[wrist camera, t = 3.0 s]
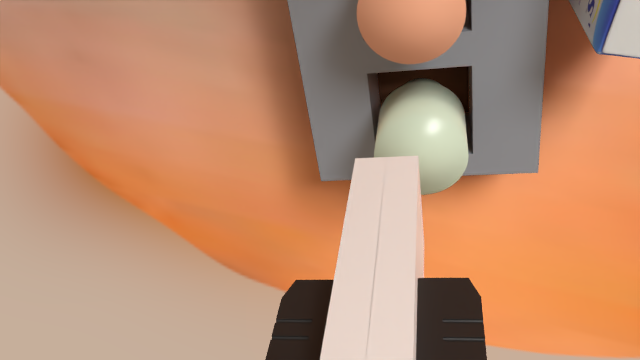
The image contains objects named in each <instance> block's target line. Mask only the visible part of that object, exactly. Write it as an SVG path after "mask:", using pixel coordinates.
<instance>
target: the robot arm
mask: <svg viewBox="0 0 640 360" xmlns="http://www.w3.org/2000/svg"><path fill="white" fill-rule="evenodd" d="M266 360H487V356H486V346H485V335H484V324H483V314H482V303H481V296H480V295H479V293H478V292H477V290H476V289H475V287H474V286H473V284H472V283H471V281H470V280H469V278H424V233H423V218H422V203H421V188H420V173H419V158H418V156H398V157H376V158H355V163H354V168H353V174H352V180H351V185H350V191H349V197H348V202H347V208H346V214H345V219H344V225H343V231H342V236H341V242H340V248H339V253H338V259H337V265H336V270H335V276H334V280H296V281H295V282H294V283H293V284H292V286H291V287H290V288H289V290H288V291H287V292H286V293H285V295H284V296H283V297H282V299H281V303H280V307H279V310H278V315H277V318H276V323H275V325H274V329H273V333H272V340H271V341H270V344H269V348H268V352H267V356H266Z"/></svg>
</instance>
